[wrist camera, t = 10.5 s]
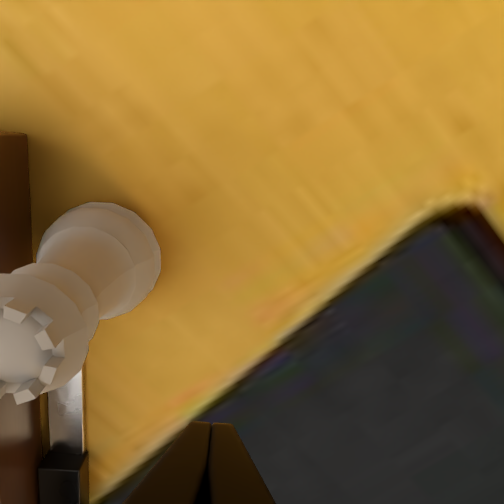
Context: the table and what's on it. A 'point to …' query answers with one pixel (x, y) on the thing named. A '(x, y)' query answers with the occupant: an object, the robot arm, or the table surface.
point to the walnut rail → (5, 262)
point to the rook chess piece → (71, 294)
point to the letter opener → (66, 447)
